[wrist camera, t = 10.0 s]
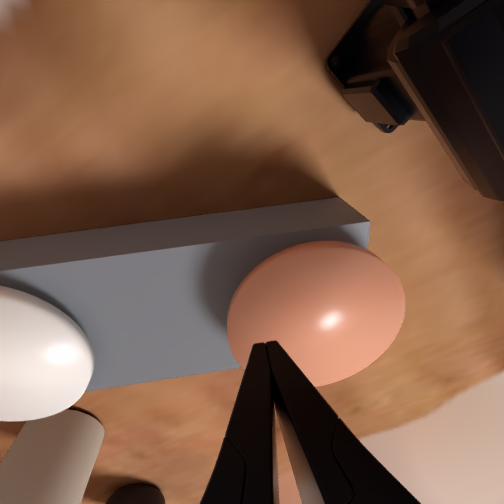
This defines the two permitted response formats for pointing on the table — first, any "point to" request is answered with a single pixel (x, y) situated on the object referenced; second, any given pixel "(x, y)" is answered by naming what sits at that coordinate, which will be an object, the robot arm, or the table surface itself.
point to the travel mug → (51, 460)
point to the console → (165, 282)
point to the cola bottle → (137, 495)
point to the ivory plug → (39, 358)
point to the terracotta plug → (318, 309)
